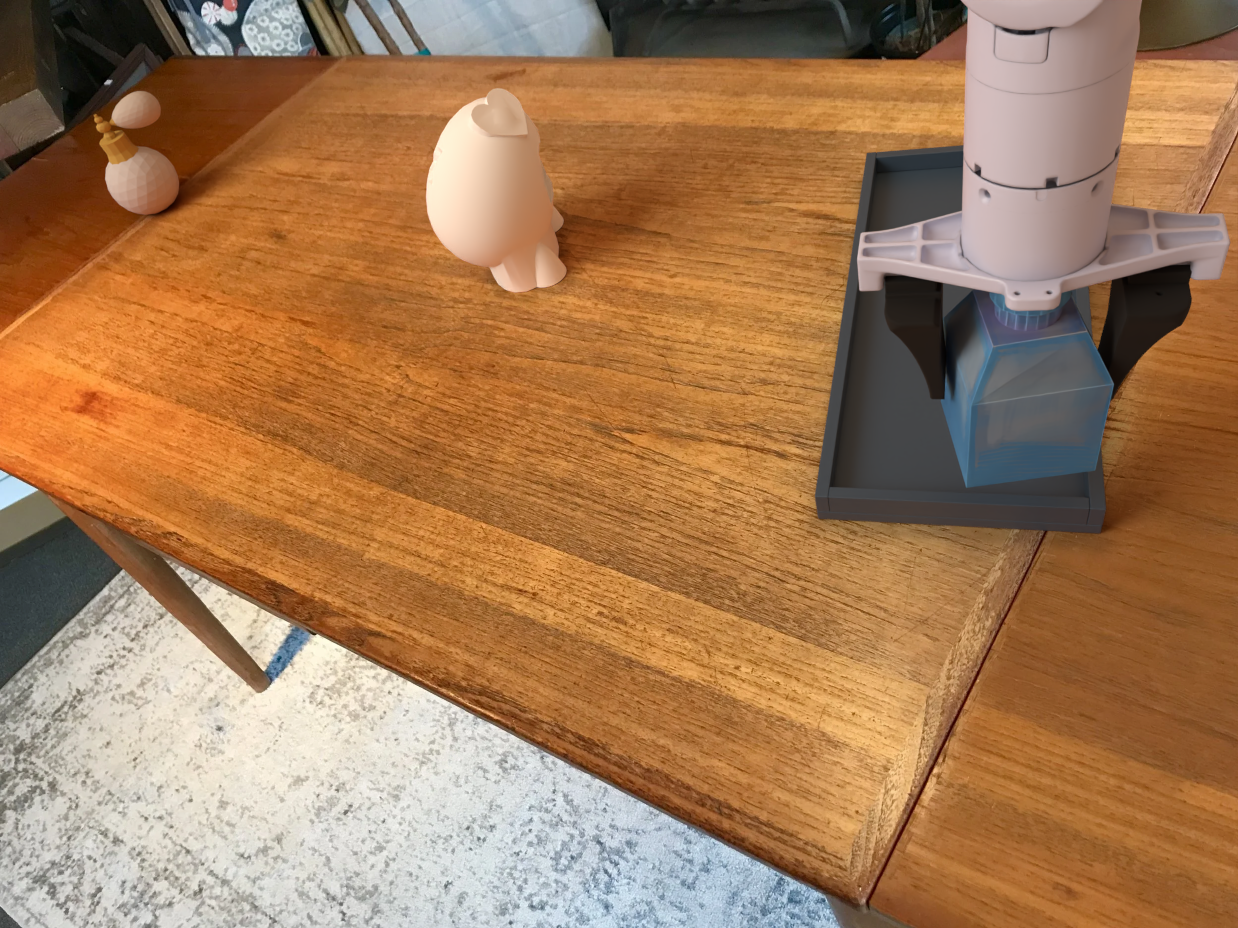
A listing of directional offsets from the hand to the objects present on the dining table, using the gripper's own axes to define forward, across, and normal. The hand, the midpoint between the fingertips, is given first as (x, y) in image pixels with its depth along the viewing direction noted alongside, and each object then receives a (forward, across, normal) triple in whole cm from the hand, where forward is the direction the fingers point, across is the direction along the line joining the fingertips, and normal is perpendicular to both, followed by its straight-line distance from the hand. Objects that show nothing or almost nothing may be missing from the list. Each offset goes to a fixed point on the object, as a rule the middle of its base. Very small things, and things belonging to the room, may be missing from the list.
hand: (1017, 385), depth 47 cm
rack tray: (+10, -3, +16) cm, 20 cm away
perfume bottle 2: (+4, 0, 0) cm, 4 cm away
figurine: (+11, -40, +26) cm, 49 cm away
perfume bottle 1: (+11, -90, +40) cm, 99 cm away
